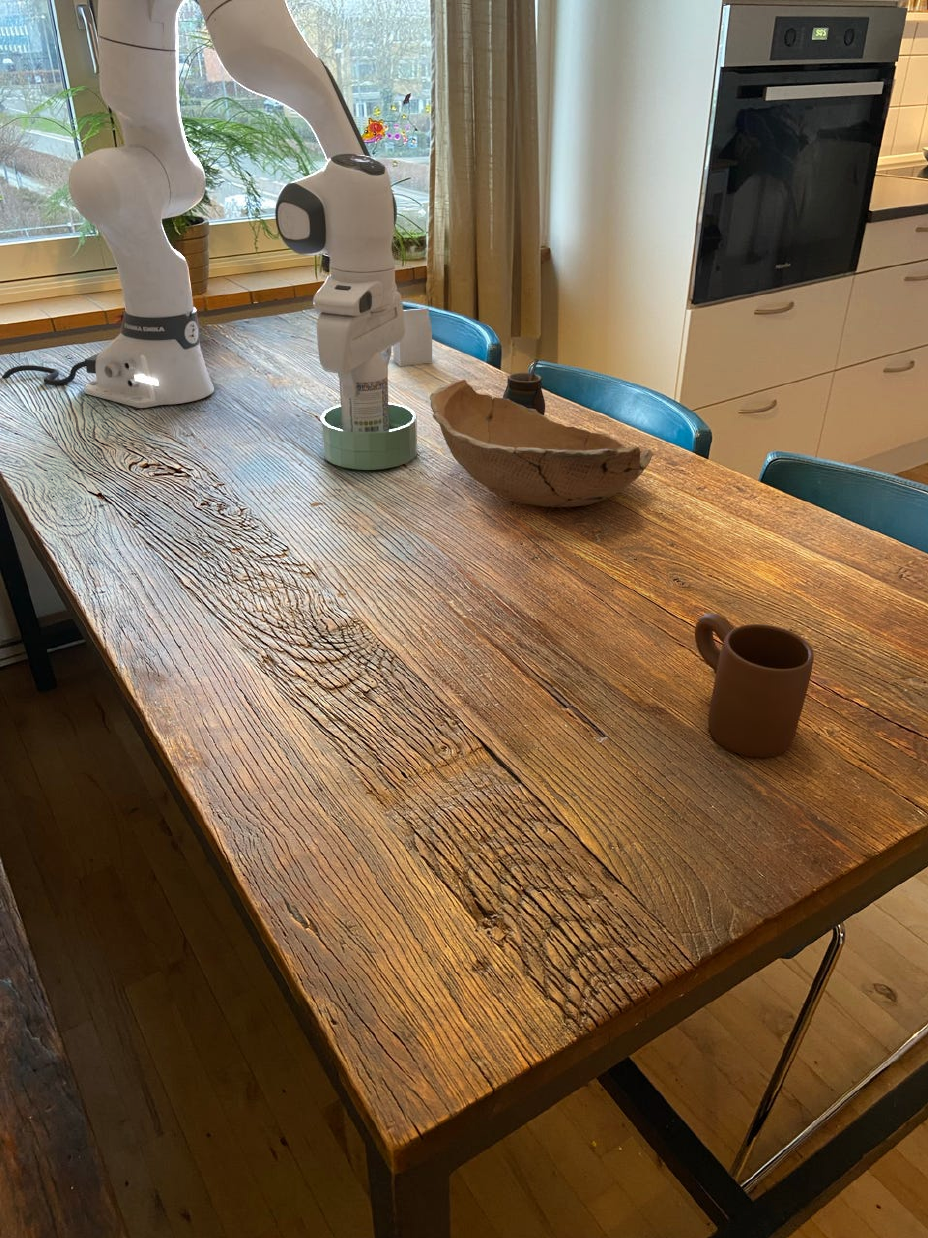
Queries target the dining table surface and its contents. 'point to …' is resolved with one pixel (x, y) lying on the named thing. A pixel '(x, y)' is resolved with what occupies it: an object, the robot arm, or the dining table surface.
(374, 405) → the bath foam
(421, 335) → the white boxy piece
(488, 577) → the dining table surface
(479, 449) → the ceramic bowl
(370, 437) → the green pet bowl
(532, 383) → the mate gourd
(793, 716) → the mug
